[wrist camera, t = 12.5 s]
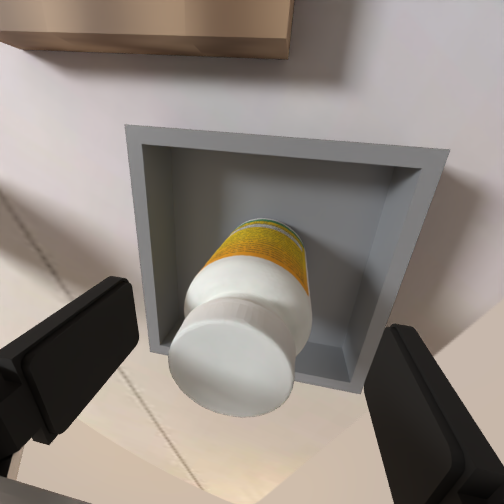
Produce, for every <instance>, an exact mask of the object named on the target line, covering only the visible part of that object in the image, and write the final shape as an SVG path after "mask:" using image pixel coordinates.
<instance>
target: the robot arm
mask: <svg viewBox="0 0 504 504" xmlns="http://www.w3.org/2000/svg"><path fill="white" fill-rule="evenodd" d="M138 341H139V331H138V325H137V318H136V311H135V304H134V297H133V290H132V285H131V284H130V283H129V281H128V280H127V279H126V278H120V277H115V276H110V277H108V278H106V279H105V280H103V281H102V282H100V283H99V284H97V285H96V286H94V287H93V288H91V289H90V290H88V291H87V292H85V293H84V294H82V295H81V296H79V297H78V298H76V299H75V300H73V301H72V302H70V303H69V304H67V305H66V306H64V307H63V308H61V309H60V310H58V311H57V312H56V313H54V314H53V315H51V316H50V317H48V318H47V319H45V320H44V321H42V322H41V323H39V324H38V325H36V326H35V327H33V328H32V329H30V330H29V331H27V332H26V333H24V334H23V335H21V336H20V337H18V338H17V339H15V340H14V341H12V342H11V343H9V344H8V345H6V346H5V347H3V348H2V349H0V504H91V503H87V502H84V501H81V500H77V499H74V498H71V497H68V496H64V495H61V494H58V493H54V492H51V491H48V490H45V489H41V488H38V487H35V486H31V485H28V484H25V483H21V482H18V481H16V479H17V474H18V470H19V466H20V461H21V457H22V453H23V449H24V445H25V444H26V443H27V442H28V441H29V440H30V438H31V437H32V439H33V441H36V442H40V443H43V444H47V445H50V443H51V442H52V441H53V440H54V439H55V438H56V436H57V435H58V434H61V433H63V432H64V431H65V430H66V429H67V428H68V427H69V426H70V425H71V424H72V422H73V421H74V420H75V419H76V418H77V416H78V415H79V414H80V413H81V412H82V410H83V409H84V408H85V407H86V406H87V404H88V403H89V402H90V401H91V400H92V398H93V397H94V396H95V395H96V394H97V392H98V391H99V390H100V389H101V388H102V386H103V385H104V384H105V383H106V381H107V380H108V379H109V378H110V377H111V375H112V374H113V373H114V372H115V371H116V369H117V368H118V367H119V366H120V365H121V363H122V362H123V361H124V360H125V359H126V357H127V356H128V355H129V354H130V353H131V351H132V350H133V349H134V348H135V347H136V345H137V343H138ZM364 393H365V397H366V401H367V405H368V408H369V412H370V416H371V419H372V423H373V427H374V431H375V435H376V438H377V442H378V446H379V449H380V453H381V457H382V461H383V464H384V468H385V472H386V475H387V479H388V483H389V487H390V490H391V494H392V498H393V501H394V504H504V466H503V464H502V463H501V461H500V460H499V458H498V457H497V455H496V453H495V452H494V450H493V449H492V447H491V446H490V444H489V443H488V441H487V440H486V438H485V436H484V435H483V434H482V432H481V430H480V429H479V427H478V426H477V424H476V423H475V421H474V420H473V418H472V416H471V415H470V413H469V412H468V410H467V409H466V407H465V406H464V404H463V402H462V401H461V400H460V398H459V396H458V395H457V393H456V392H455V390H454V389H453V387H452V386H451V384H450V383H449V381H448V379H447V378H446V376H445V375H444V373H443V372H442V370H441V368H440V367H439V365H438V364H437V362H436V361H435V359H434V358H433V356H432V355H431V353H430V351H429V350H428V348H427V347H426V345H425V344H424V342H423V341H422V339H421V338H420V336H419V334H418V333H417V331H416V330H415V329H414V328H413V327H411V326H405V325H399V324H392V325H391V326H390V327H386V328H385V329H384V332H383V334H382V337H381V340H380V342H379V345H378V348H377V350H376V353H375V355H374V358H373V361H372V363H371V366H370V369H369V371H368V374H367V377H366V379H365V382H364Z"/></svg>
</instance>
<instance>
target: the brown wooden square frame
mask: <svg viewBox="0 0 504 504" xmlns="http://www.w3.org/2000/svg"><path fill="white" fill-rule="evenodd" d="M294 1H295V0H0V42H3V43H5V44H8V45H11V46H13V47H16V48H18V49H23V50H50V51H76V52H103V53H130V54H156V55H183V56H209V57H236V58H262V59H288V55H289V46H290V37H291V28H292V19H293V10H294Z"/></svg>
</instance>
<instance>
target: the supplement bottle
mask: <svg viewBox="0 0 504 504" xmlns="http://www.w3.org/2000/svg"><path fill="white" fill-rule="evenodd" d="M184 316H185V320H184V322H183V324H182V326H181V327H180V329H179V331H178V332H177V334H176V336H175V337H174V339H173V341H172V343H171V346H170V349H169V355H168V363H169V369H170V372H171V374H172V377H173V379H174V380H175V382H176V384H177V385H178V386H179V388H180V389H181V390H182V391H183V392H184V393H185V394H186V395H187V396H188V397H189V398H191V399H192V400H193V401H194V402H196V403H198V404H199V405H201V406H202V407H204V408H206V409H208V410H211V411H213V412H216V413H219V414H223V415H228V416H234V417H255V416H260V415H263V414H266V413H269V412H271V411H273V410H275V409H277V408H278V407H280V406H281V405H282V404H283V403H284V402H285V401H286V400H287V398H288V397H289V395H290V393H291V391H292V388H293V384H294V378H295V359H296V356H297V355H298V354H299V353H300V351H301V350H302V349H303V348H304V346H305V344H306V342H307V340H308V338H309V335H310V332H311V327H312V309H311V300H310V290H309V281H308V270H307V260H306V252H305V248H304V245H303V243H302V241H301V239H300V237H299V236H298V235H297V234H296V233H295V232H294V231H293V230H292V229H291V228H290V227H289V226H287V225H285V224H284V223H282V222H280V221H277V220H274V219H268V218H257V219H252V220H249V221H246V222H244V223H243V224H241V225H240V226H238V227H237V228H236V229H235V230H234V231H233V232H232V233H231V234H230V236H229V237H228V238H227V239H226V240H225V242H224V243H223V244H222V245H221V246H220V248H219V249H218V250H217V251H216V252H215V253H214V255H213V256H212V257H211V258H210V260H209V261H208V262H207V263H206V264H205V266H204V267H203V268H202V269H201V270H200V272H199V273H198V274H197V275H196V276H195V278H194V280H193V281H192V283H191V284H190V287H189V289H188V291H187V294H186V298H185V303H184Z"/></svg>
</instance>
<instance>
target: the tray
mask: <svg viewBox="0 0 504 504" xmlns="http://www.w3.org/2000/svg"><path fill="white" fill-rule="evenodd" d="M125 133H126V142H127V151H128V160H129V168H130V177H131V186H132V195H133V204H134V213H135V222H136V231H137V239H138V248H139V257H140V266H141V275H142V284H143V293H144V302H145V311H146V319H147V328H148V337H149V346H150V352H153V353H158V354H163V355H169V349H170V346H171V343H172V341H173V339H174V337H175V336H176V334H177V332H178V331H179V329H180V327H181V326H182V324H183V322H184V320H185V316H184V303H185V298H186V294H187V291H188V289H189V287H190V284H191V283H192V281H193V280H194V278H195V276H196V275H197V274H198V273H199V272H200V270H201V269H202V268H203V267H204V266H205V264H206V263H207V262H208V261H209V260H210V258H211V257H212V256H213V255H214V253H215V252H216V251H217V250H218V249H219V248H220V246H221V245H222V244H223V243H224V242H225V240H226V239H227V238H228V237H229V236H230V234H231V233H232V232H233V231H234V230H235V229H236V228H237V227H238V226H240V225H241V224H243V223H244V222H246V221H249V220H252V219H257V218H268V219H274V220H277V221H280V222H282V223H284V224H285V225H287V226H289V227H290V228H291V229H292V230H293V231H294V232H295V233H296V234H297V235H298V236H299V237H300V239H301V241H302V243H303V245H304V248H305V252H306V260H307V270H308V281H309V290H310V300H311V309H312V327H311V332H310V335H309V338H308V340H307V342H306V344H305V346H304V348H303V349H302V350H301V351H300V353H299V354H298V355H297V356H296V359H295V378H294V381H297V382H302V383H307V384H312V385H317V386H322V387H327V388H332V389H337V390H342V391H346V392H351V393H356V394H361V392H362V389H363V386H364V382H365V379H366V377H367V374H368V371H369V369H370V366H371V363H372V361H373V358H374V355H375V353H376V350H377V348H378V345H379V342H380V340H381V337H382V334H383V332H384V329H385V326H386V323H387V321H388V318H389V315H390V313H391V310H392V307H393V304H394V302H395V299H396V296H397V294H398V291H399V288H400V285H401V283H402V280H403V277H404V274H405V272H406V269H407V266H408V264H409V261H410V258H411V255H412V253H413V250H414V247H415V245H416V242H417V239H418V236H419V234H420V231H421V228H422V225H423V223H424V220H425V217H426V215H427V212H428V209H429V206H430V204H431V201H432V198H433V195H434V193H435V190H436V187H437V185H438V182H439V179H440V176H441V174H442V171H443V168H444V166H445V163H446V160H447V157H448V155H449V152H450V150H449V149H436V148H423V147H410V146H397V145H385V144H372V143H359V142H346V141H333V140H320V139H307V138H294V137H281V136H268V135H255V134H242V133H229V132H217V131H204V130H191V129H178V128H165V127H152V126H139V125H126V124H125Z"/></svg>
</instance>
